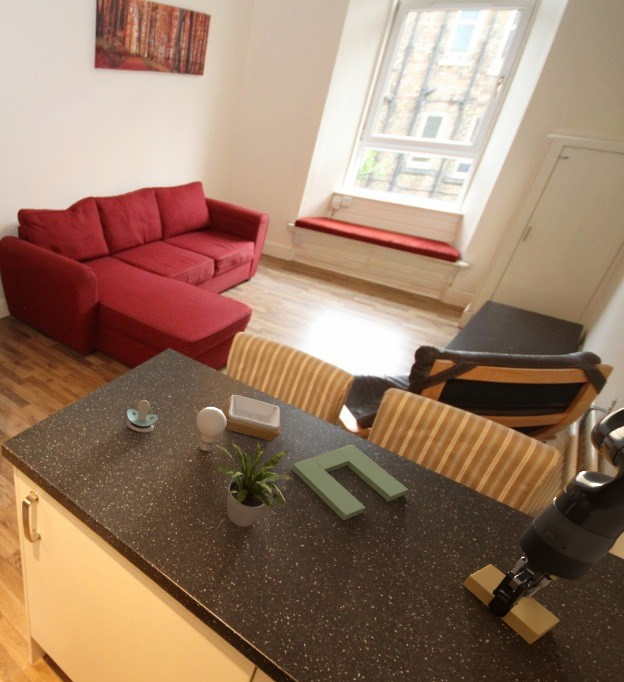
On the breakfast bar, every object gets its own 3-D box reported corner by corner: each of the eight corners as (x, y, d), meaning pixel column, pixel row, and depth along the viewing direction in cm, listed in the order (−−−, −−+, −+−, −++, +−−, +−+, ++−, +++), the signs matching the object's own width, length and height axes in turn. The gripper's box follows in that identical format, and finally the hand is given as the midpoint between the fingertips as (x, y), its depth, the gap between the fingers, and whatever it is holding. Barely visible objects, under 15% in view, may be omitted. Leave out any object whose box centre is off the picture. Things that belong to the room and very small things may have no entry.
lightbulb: (184, 448, 99) (192, 409, 93) (200, 435, 103) (209, 397, 98) (209, 463, 95) (219, 424, 90) (224, 449, 99) (234, 410, 94)
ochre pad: (483, 572, 77) (491, 563, 76) (551, 629, 70) (560, 620, 68) (462, 584, 75) (469, 575, 74) (529, 644, 67) (539, 635, 66)
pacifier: (153, 437, 101) (158, 420, 106) (156, 416, 98) (161, 400, 103) (122, 429, 103) (128, 413, 108) (124, 408, 100) (130, 393, 105)
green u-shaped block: (343, 520, 85) (346, 515, 84) (290, 468, 96) (292, 463, 95) (405, 494, 92) (408, 489, 91) (350, 449, 103) (352, 444, 102)
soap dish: (221, 431, 105) (225, 415, 102) (225, 407, 113) (229, 391, 110) (276, 446, 102) (281, 429, 99) (276, 420, 110) (281, 404, 107)
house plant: (191, 535, 80) (208, 469, 71) (199, 479, 91) (214, 417, 83) (273, 558, 77) (300, 493, 69) (271, 497, 88) (294, 435, 80)
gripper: (573, 577, 58) (507, 645, 66) (625, 542, 64) (558, 609, 72) (510, 530, 64) (456, 598, 72) (562, 502, 69) (507, 568, 78)
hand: (507, 603), depth 72 cm, fingers closed on ochre pad, 6 cm apart
